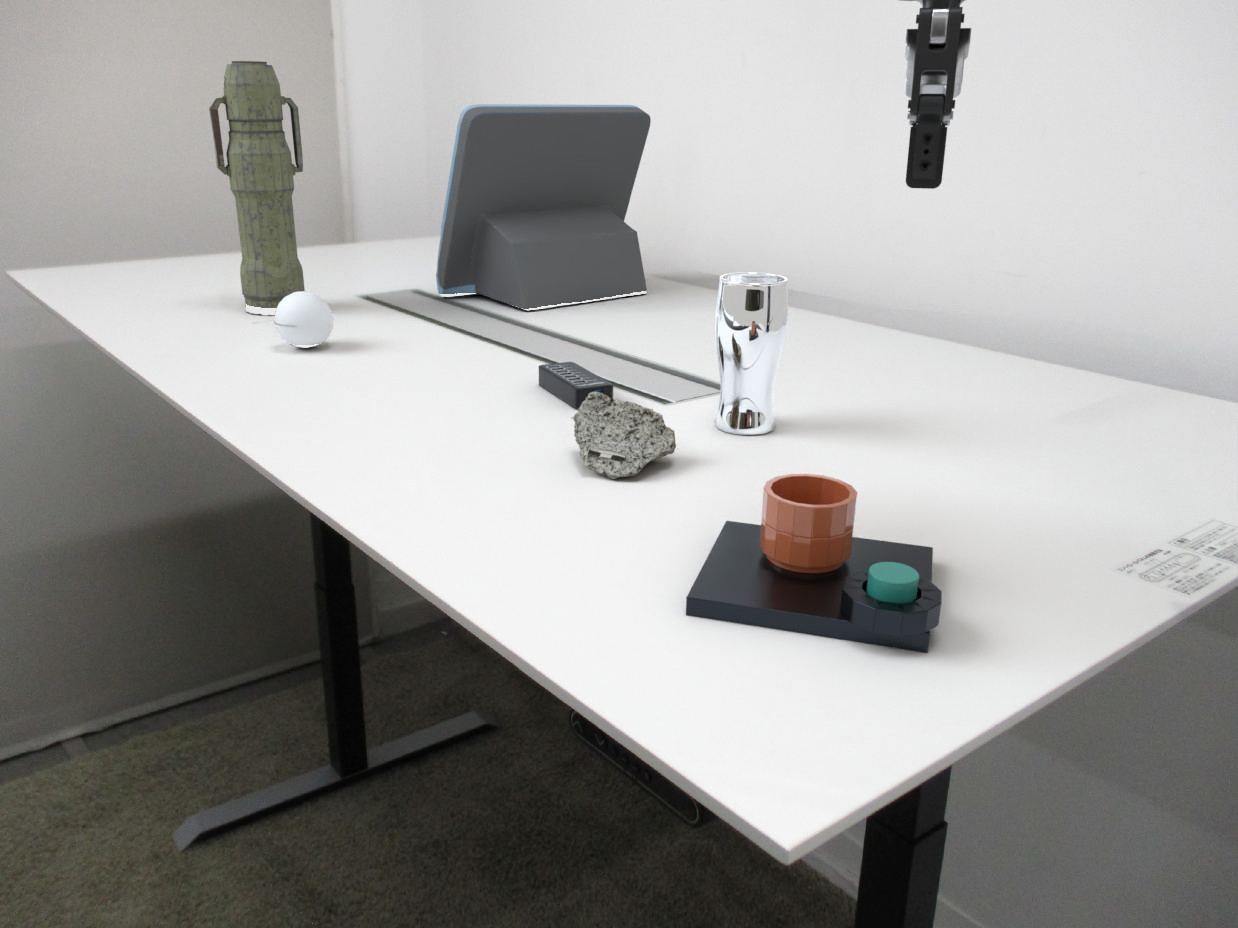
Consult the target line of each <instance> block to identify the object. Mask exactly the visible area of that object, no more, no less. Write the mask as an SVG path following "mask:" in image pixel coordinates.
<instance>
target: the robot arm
mask: <svg viewBox="0 0 1238 928" xmlns="http://www.w3.org/2000/svg"><path fill="white" fill-rule="evenodd" d="M899 1H903V2H918V3H920V4H921V6H922V7H919V12H918V14H916V17H915V25H917V28H907V29H906V34H905V41H904V42H905V43H904V58H905V60H906V61H907V62H906V70H905V71H906V72H905V79H904V80H905V83H904V94H905V96H906V97H907V98H910V99H908V100H907V101H908V102H907V118H906V119H907V120H909V122H908V126H910V131H909V140H908V141H909V142H908V150H907V151H908V153H907V162H906V171H905V172H906V173H905V184H906V186H907V187H908V188H911V189H926V190H927V189H931V190H934V189H937V188H938V187H940V186H941V184H942V181H943V174H944V173H943V172H944V171H943V170H944V164H945V155H946V145H947V144H946V143H947V137H948V136H947V134H948V127H949V126H950V124H951V121H952V120H953V119H954V110H953V109H955V108H956V99H955V98H957V97H958V96H959V95H960V94H961V92H962V86H963V79H964V68H965V67H964V66H965V60H966V59H967V58H968V57H969V53H970V47H971V36H972V27H962V24H964V22H965V15H966V14H965V13H963V6H961V5H962V3H963V2H965V1H966V0H899ZM908 109H909V110H908Z"/></svg>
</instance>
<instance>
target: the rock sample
mask: <svg viewBox="0 0 1238 928" xmlns="http://www.w3.org/2000/svg"><path fill="white" fill-rule="evenodd" d="M612 394H613V395H614V392H613V393H612ZM611 397H612V396H611ZM585 399H586V400H585V401H583V402H582V405H581V407H579V408H578V409H576V411H577V412H576V413H574V414H573V416H572V417H571V416H570V419H571V420H572V421H573V422H574V427H573V428H574V429H573V431H574V434H573V436H574V437H575V442H576V444H577V445H578V447H579V452H580V453H579V456H580V458H581V460H582V463H583V466H584V467H585V468H587V469H589V470H592V471H594V472H596V473H597V474H599V475H602V476H606V477H607V478H609V479H612V480H617V479H618V478H625V477H632V476H637V475H638V474H639V473H640V472H641V471H642V470H643V468H644V467H645V466H646V465H648V463H651V462H653V461H655V460H658V459H661V458H663V457H666V456H668V455H672V454H674V452H675V450H676V449H677V450H679V448H677V444H676V434H675V430H673V429H672V428H671V427H668V426H667V425H666V424H665V420H664V416H663V415H662V414H661V413H659V412H656V411H654V410H653V408H649V407H646V406H643V405H641V404H638V403H637V402H630V401H627V400H626V401H622V400H620V399H616V400H615V399H614V398H613V399H611V398H609V397H608V395H605V394H602V393H600V392H591V393H589V394H588V397H586V398H585Z"/></svg>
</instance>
